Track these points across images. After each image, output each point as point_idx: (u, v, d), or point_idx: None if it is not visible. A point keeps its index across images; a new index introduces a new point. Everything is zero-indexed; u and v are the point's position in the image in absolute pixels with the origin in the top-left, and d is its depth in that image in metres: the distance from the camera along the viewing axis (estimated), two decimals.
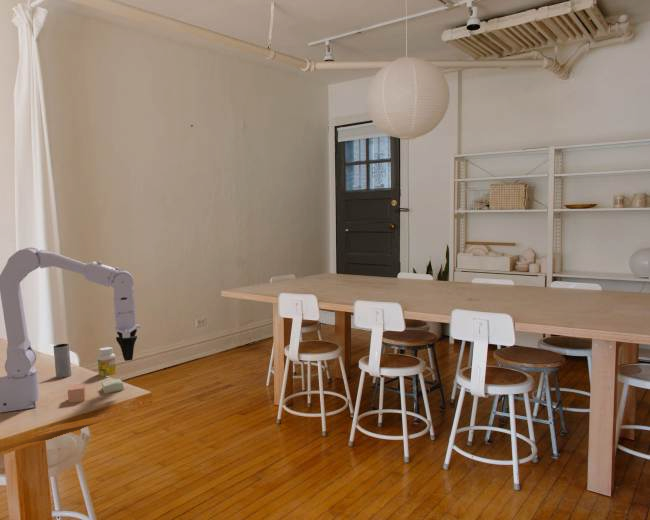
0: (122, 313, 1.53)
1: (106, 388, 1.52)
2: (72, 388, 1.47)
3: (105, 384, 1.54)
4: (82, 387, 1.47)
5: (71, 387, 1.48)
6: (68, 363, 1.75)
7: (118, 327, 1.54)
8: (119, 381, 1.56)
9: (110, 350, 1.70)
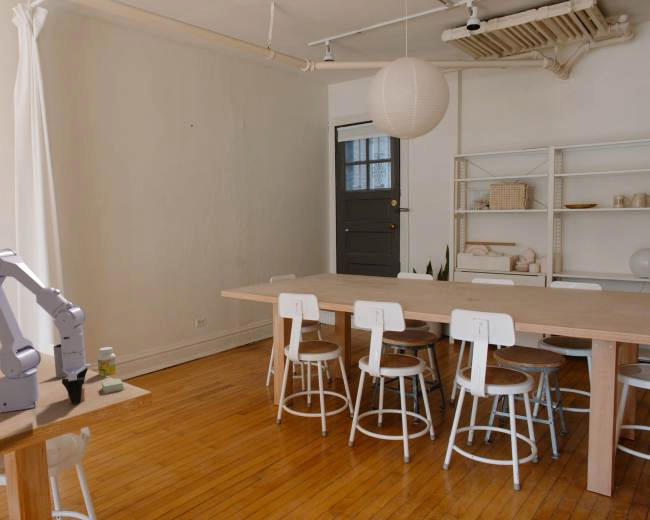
0: (69, 353, 1.44)
1: (106, 388, 1.52)
2: None
3: (105, 384, 1.54)
4: (82, 387, 1.47)
5: None
6: None
7: (65, 368, 1.45)
8: (119, 381, 1.56)
9: (110, 350, 1.70)
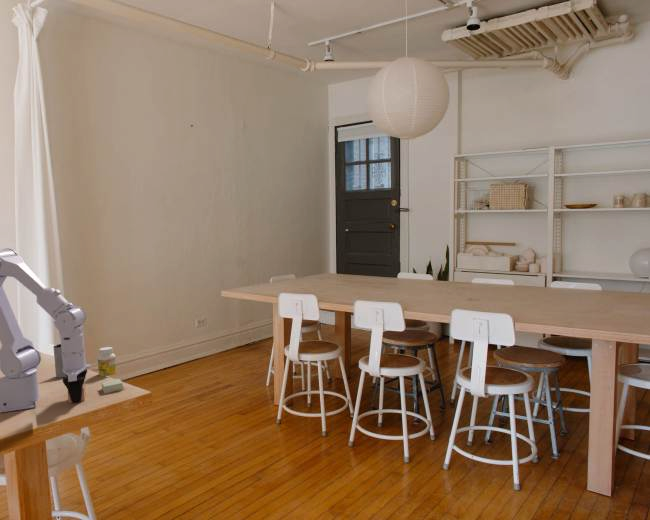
0: (69, 354, 1.44)
1: (105, 388, 1.52)
2: None
3: (105, 384, 1.54)
4: (82, 387, 1.47)
5: None
6: None
7: (65, 368, 1.45)
8: (119, 381, 1.56)
9: (110, 350, 1.70)
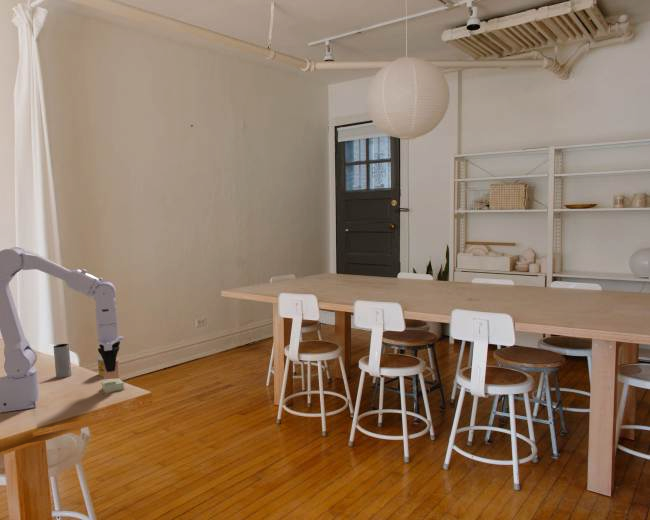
0: (104, 325, 1.51)
1: (106, 388, 1.53)
2: None
3: (106, 384, 1.54)
4: (116, 360, 1.54)
5: None
6: (68, 363, 1.75)
7: (100, 339, 1.52)
8: (119, 381, 1.57)
9: None
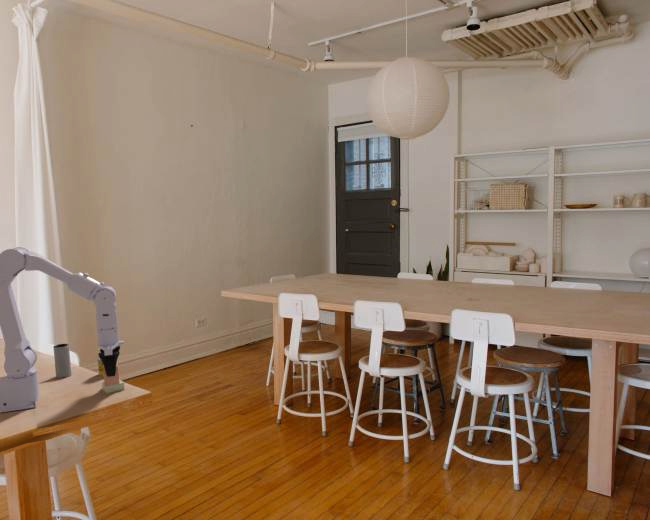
0: (104, 330, 1.51)
1: (107, 388, 1.52)
2: None
3: None
4: (116, 366, 1.55)
5: None
6: (68, 363, 1.75)
7: (100, 344, 1.52)
8: (120, 381, 1.56)
9: None
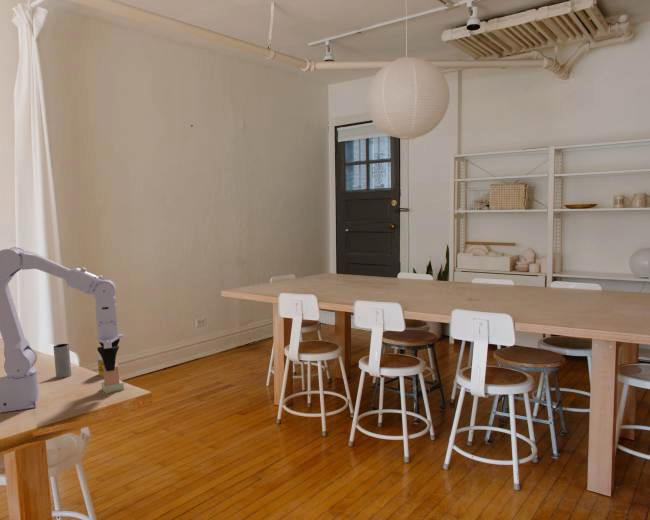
0: (104, 323, 1.51)
1: (106, 388, 1.52)
2: None
3: None
4: (116, 366, 1.55)
5: None
6: (68, 363, 1.75)
7: (100, 337, 1.52)
8: None
9: None
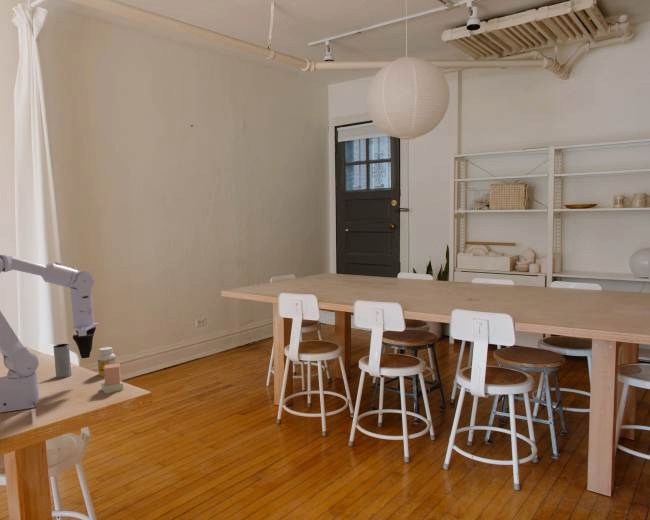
0: (79, 312, 1.57)
1: (106, 388, 1.52)
2: (108, 366, 1.55)
3: None
4: (117, 366, 1.55)
5: (107, 366, 1.55)
6: (68, 363, 1.75)
7: (75, 325, 1.58)
8: None
9: (110, 350, 1.70)
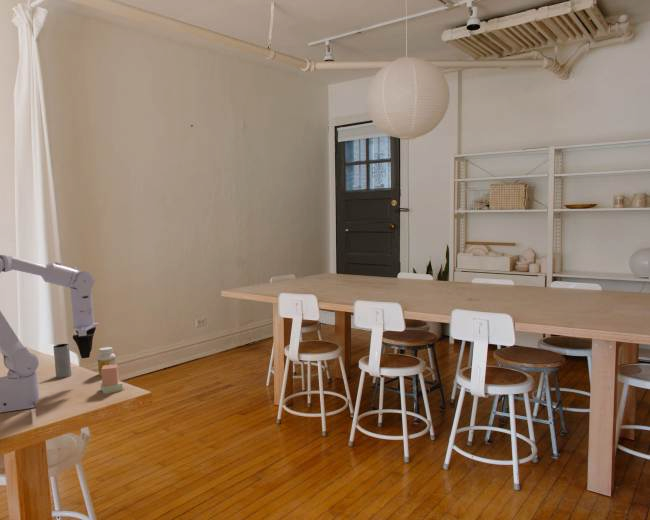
0: (79, 312, 1.57)
1: (105, 389, 1.52)
2: (105, 367, 1.54)
3: None
4: (115, 367, 1.54)
5: (105, 366, 1.55)
6: (68, 363, 1.75)
7: (75, 325, 1.58)
8: (118, 382, 1.56)
9: (110, 350, 1.70)
